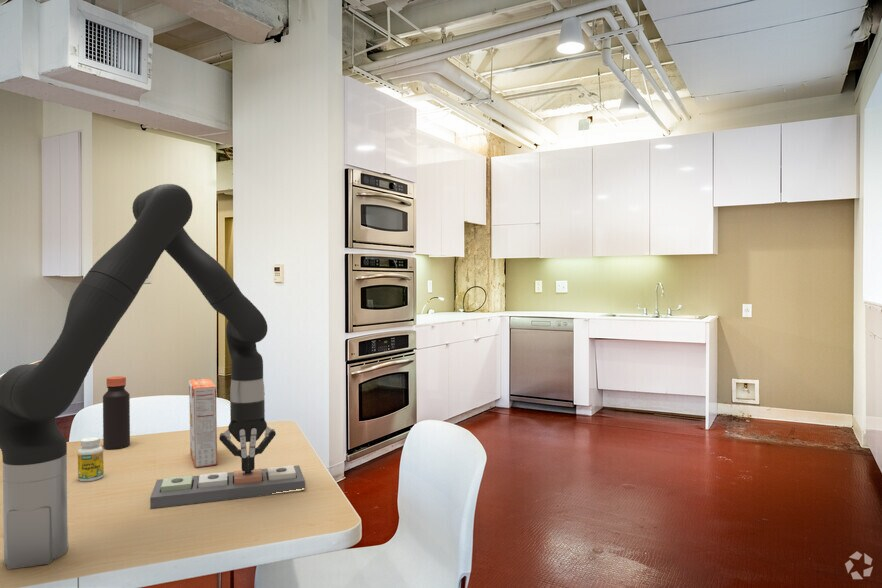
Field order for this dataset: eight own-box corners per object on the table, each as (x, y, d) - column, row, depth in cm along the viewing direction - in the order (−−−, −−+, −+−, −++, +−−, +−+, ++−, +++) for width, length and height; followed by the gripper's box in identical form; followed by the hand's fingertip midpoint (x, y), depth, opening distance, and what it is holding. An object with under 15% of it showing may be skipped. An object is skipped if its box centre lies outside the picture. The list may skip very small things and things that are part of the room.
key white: (227, 487, 132) (227, 479, 132) (198, 491, 130) (198, 482, 130) (227, 479, 138) (227, 470, 138) (199, 482, 136) (199, 473, 136)
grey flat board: (305, 490, 135) (304, 480, 135) (150, 508, 124) (150, 497, 124) (299, 474, 147) (299, 464, 146) (156, 489, 136) (156, 479, 136)
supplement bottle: (102, 473, 147) (102, 435, 147) (104, 479, 143) (104, 439, 142) (77, 477, 144) (77, 438, 144) (78, 483, 140) (77, 443, 140)
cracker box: (188, 454, 163) (188, 379, 163) (211, 451, 166) (211, 377, 166) (192, 468, 151) (192, 387, 150) (217, 465, 154) (217, 385, 153)
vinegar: (112, 443, 175) (111, 375, 174) (134, 443, 174) (134, 375, 174) (98, 449, 168) (97, 379, 167) (121, 450, 168) (120, 379, 167)
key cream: (295, 480, 137) (295, 471, 137) (268, 483, 135) (268, 474, 135) (293, 472, 143) (293, 464, 143) (267, 475, 141) (267, 467, 141)
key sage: (191, 491, 130) (190, 482, 130) (161, 495, 128) (160, 486, 128) (192, 483, 135) (192, 474, 135) (163, 486, 133) (163, 477, 133)
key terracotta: (262, 484, 135) (262, 475, 135) (234, 487, 133) (234, 478, 133) (260, 476, 141) (260, 467, 140) (234, 478, 138) (234, 470, 138)
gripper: (216, 403, 131) (217, 481, 131) (278, 399, 135) (278, 474, 136) (217, 397, 138) (217, 470, 138) (275, 393, 142) (276, 464, 143)
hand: (248, 472), depth 137 cm, fingers closed
